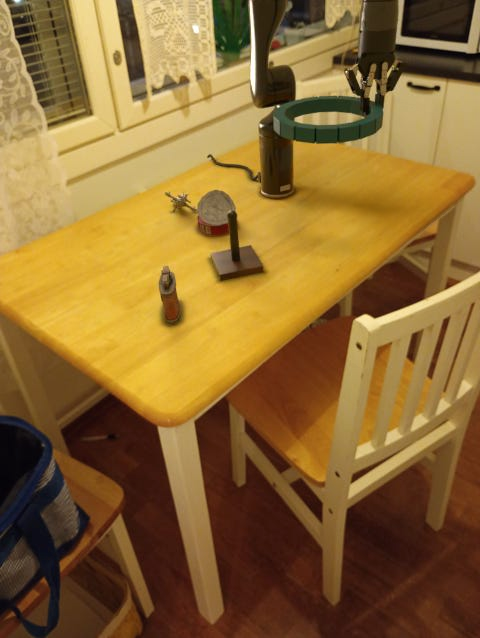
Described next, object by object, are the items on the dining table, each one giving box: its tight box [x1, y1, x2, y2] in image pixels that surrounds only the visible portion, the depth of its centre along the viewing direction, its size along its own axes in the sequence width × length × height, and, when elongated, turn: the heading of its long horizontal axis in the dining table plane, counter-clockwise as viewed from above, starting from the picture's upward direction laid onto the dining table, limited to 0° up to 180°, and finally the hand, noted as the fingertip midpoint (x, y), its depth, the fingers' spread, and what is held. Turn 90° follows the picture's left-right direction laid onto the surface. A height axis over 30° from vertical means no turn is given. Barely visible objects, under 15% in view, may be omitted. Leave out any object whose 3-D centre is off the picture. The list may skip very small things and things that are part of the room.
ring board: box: [209, 210, 264, 282], centre depth 117 cm, size 10×10×14 cm
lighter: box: [158, 265, 182, 325], centre depth 105 cm, size 8×3×10 cm, turn 5°
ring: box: [273, 95, 384, 145], centre depth 115 cm, size 23×23×3 cm
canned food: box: [196, 189, 237, 237], centre depth 135 cm, size 11×10×10 cm
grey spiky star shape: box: [164, 190, 197, 213], centre depth 144 cm, size 10×6×9 cm
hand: (371, 112), depth 117 cm, fingers closed on ring, 2 cm apart
